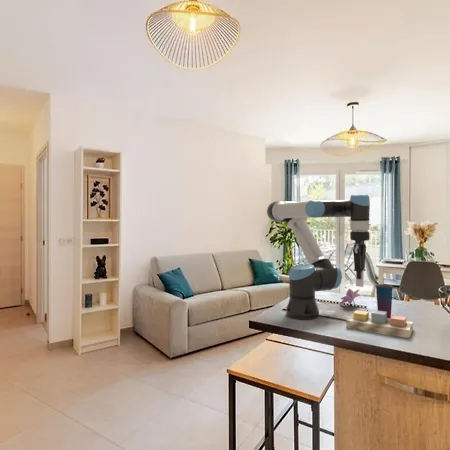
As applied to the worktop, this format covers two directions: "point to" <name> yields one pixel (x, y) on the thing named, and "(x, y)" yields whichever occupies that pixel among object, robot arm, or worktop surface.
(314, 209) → the robot arm
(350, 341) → the worktop surface
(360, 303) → the worktop surface
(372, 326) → the button board
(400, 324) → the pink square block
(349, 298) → the lily
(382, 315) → the grey block
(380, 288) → the cup
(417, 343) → the worktop surface
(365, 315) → the yellow block
